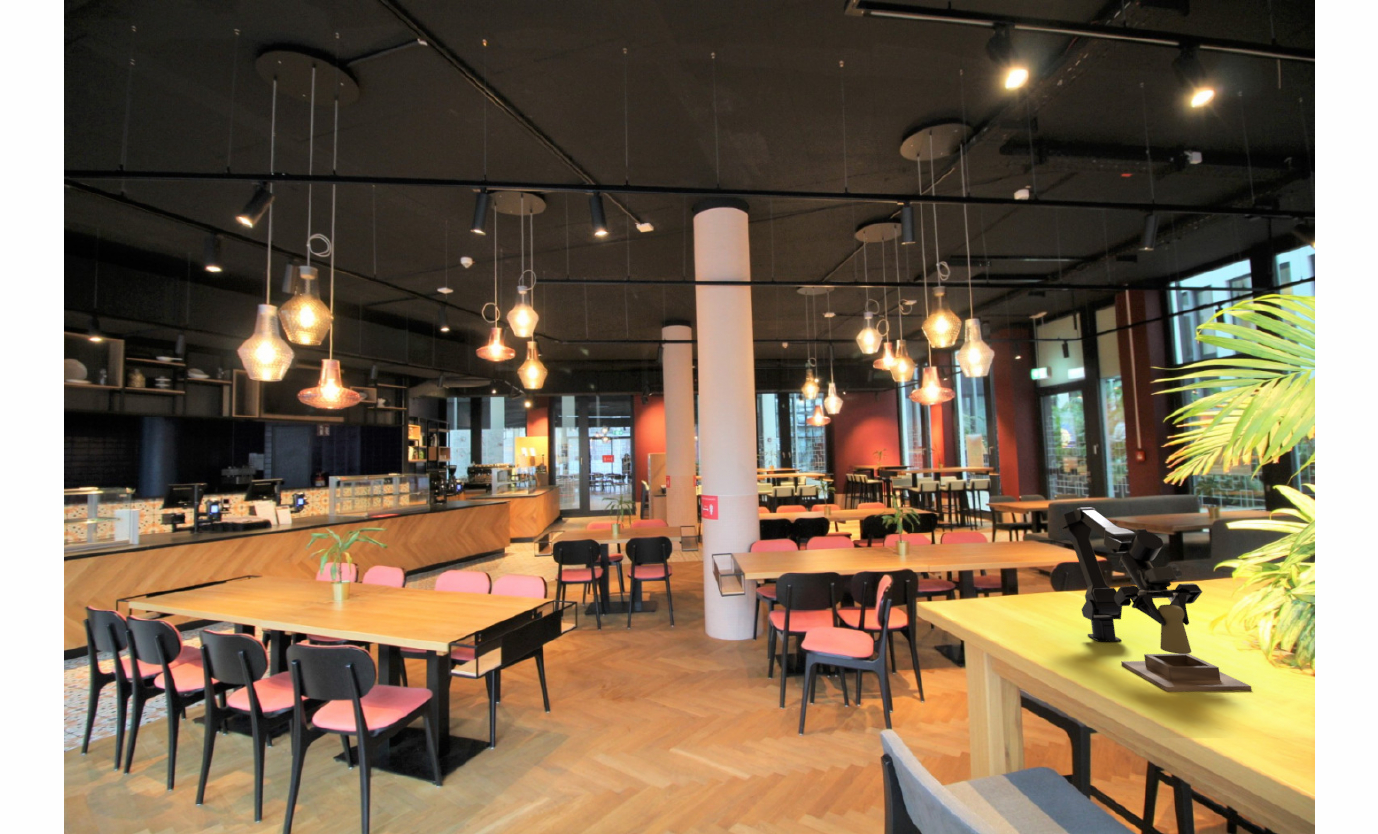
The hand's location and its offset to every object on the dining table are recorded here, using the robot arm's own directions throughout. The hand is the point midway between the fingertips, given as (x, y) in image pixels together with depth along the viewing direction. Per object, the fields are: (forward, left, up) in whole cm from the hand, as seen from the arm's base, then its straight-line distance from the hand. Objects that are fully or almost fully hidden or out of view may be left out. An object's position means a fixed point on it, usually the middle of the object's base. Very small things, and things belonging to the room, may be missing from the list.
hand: (1176, 624), depth 145 cm
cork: (-1, 0, -7) cm, 7 cm away
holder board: (-1, +1, -13) cm, 13 cm away
